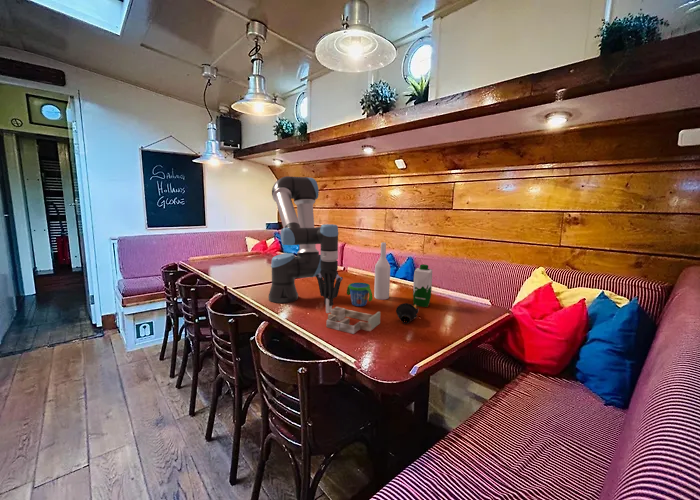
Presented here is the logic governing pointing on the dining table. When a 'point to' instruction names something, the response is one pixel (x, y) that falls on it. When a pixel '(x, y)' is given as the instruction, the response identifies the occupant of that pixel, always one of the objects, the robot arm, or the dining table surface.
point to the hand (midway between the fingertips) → (328, 312)
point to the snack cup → (359, 293)
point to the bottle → (382, 276)
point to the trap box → (346, 327)
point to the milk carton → (422, 286)
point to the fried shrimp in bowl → (407, 312)
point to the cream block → (338, 313)
